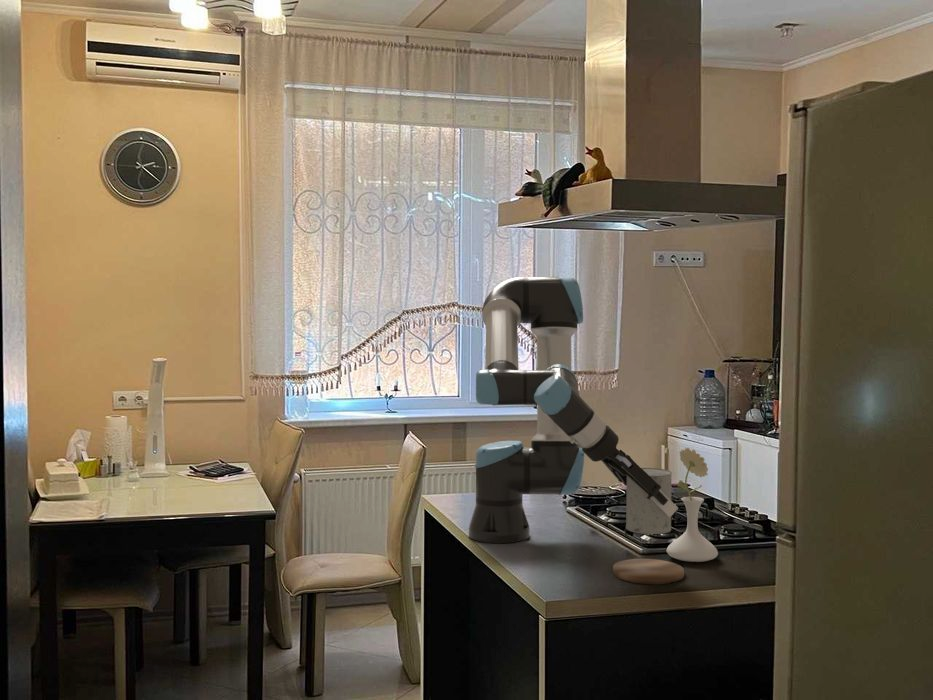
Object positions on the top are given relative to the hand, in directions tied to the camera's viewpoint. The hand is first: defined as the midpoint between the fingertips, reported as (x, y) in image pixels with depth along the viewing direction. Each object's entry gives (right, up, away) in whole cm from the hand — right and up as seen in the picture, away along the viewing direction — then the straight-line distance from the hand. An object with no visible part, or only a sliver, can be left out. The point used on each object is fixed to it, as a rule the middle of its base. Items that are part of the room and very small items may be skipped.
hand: (662, 507), depth 209 cm
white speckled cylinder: (-3, -5, -1) cm, 6 cm away
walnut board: (-3, -14, 0) cm, 15 cm away
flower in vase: (+9, -14, +13) cm, 21 cm away
